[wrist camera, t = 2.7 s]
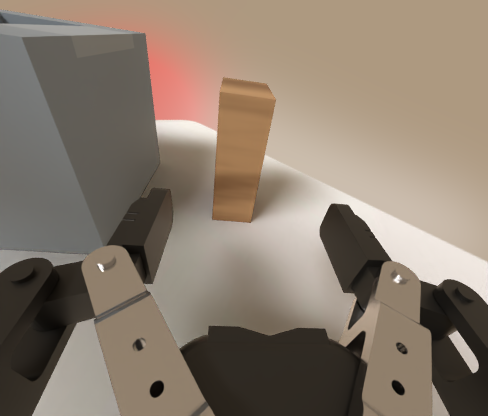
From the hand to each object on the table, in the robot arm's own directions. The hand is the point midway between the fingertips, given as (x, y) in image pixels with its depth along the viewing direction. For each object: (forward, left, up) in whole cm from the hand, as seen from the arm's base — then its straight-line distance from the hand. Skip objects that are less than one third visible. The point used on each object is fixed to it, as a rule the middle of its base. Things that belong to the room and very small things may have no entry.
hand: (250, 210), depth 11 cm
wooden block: (+5, +10, -8) cm, 14 cm away
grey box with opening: (-10, +18, -8) cm, 22 cm away
